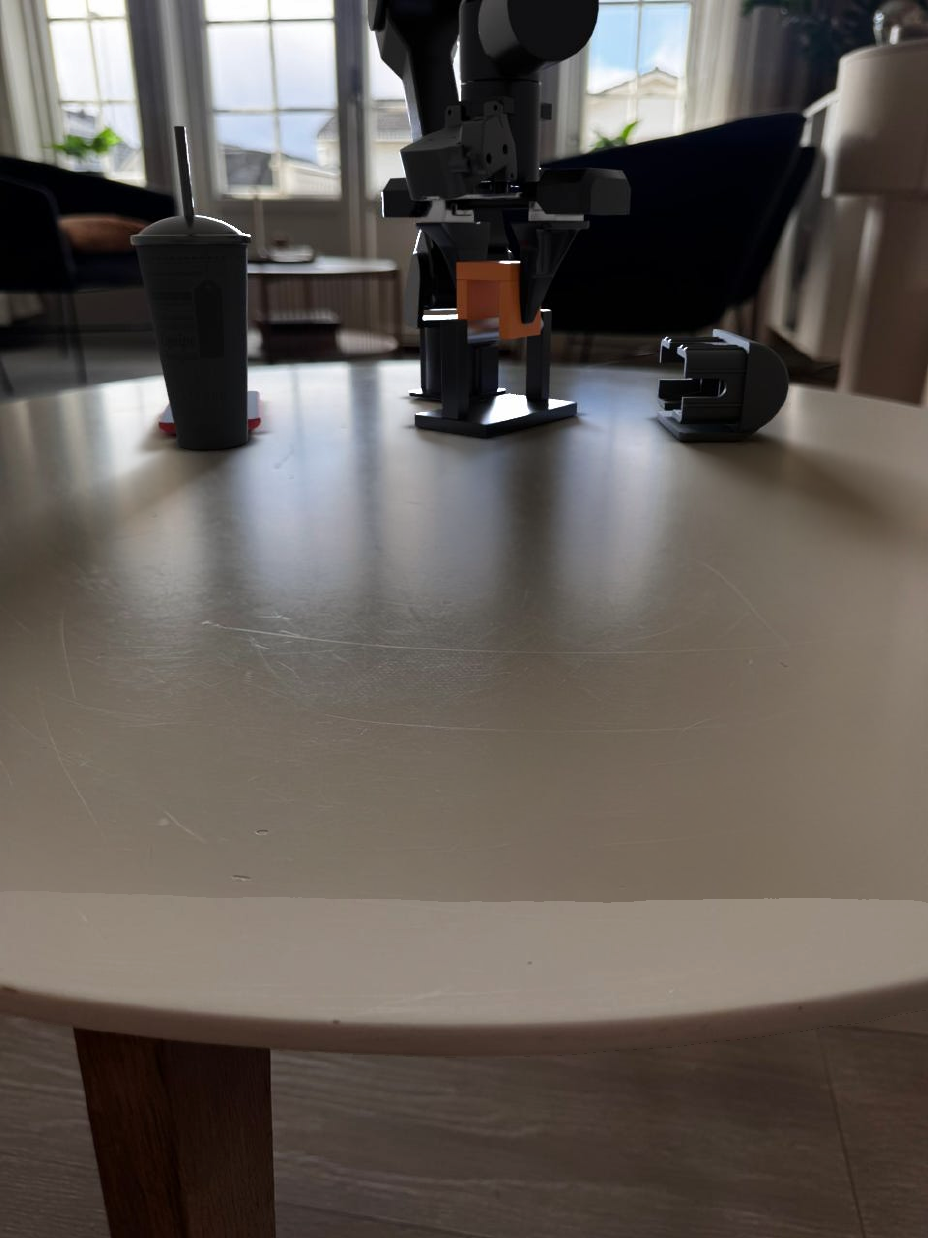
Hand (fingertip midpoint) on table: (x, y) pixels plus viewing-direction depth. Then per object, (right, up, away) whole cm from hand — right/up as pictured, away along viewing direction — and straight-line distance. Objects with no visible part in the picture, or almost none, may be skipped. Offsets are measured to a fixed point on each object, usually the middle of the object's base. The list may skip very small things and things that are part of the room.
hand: (498, 321), depth 70 cm
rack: (0, -7, +3) cm, 8 cm away
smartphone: (-23, -6, +5) cm, 24 cm away
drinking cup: (-21, -10, -4) cm, 23 cm away
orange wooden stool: (0, -1, 0) cm, 1 cm away
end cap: (+16, -9, -1) cm, 18 cm away
